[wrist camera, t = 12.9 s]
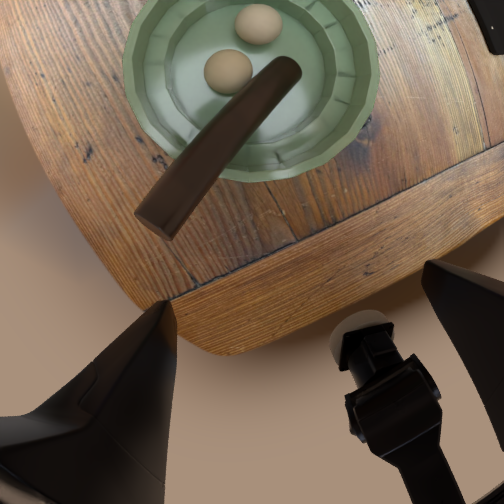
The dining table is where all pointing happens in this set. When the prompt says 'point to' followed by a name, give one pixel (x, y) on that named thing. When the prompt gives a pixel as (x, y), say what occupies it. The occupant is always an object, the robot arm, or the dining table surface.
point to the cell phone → (491, 22)
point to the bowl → (286, 44)
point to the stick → (215, 148)
